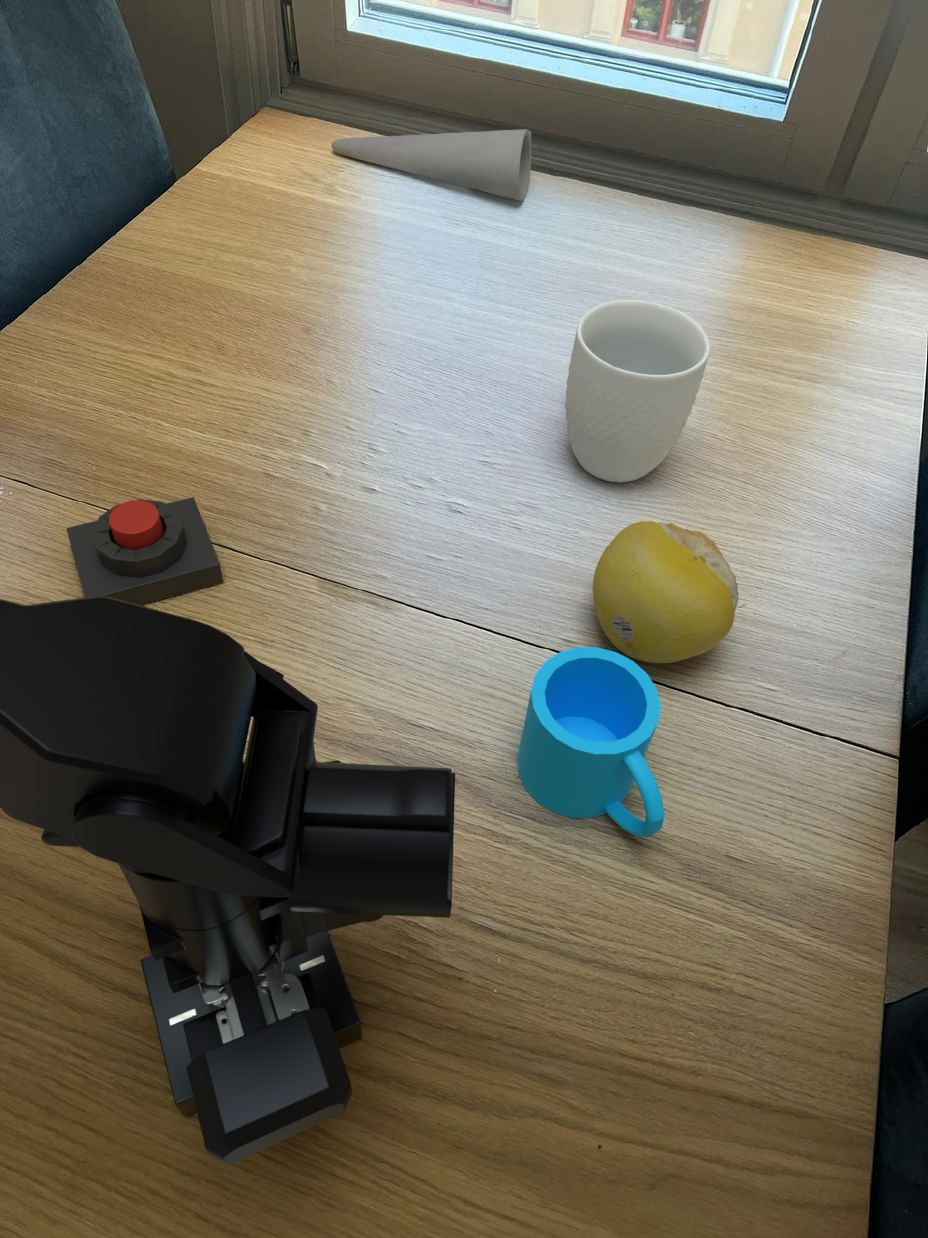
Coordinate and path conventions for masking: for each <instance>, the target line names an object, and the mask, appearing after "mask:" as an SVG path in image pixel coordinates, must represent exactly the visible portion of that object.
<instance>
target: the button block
mask: <svg viewBox="0 0 928 1238" xmlns="http://www.w3.org/2000/svg"><path fill="white" fill-rule="evenodd" d="M139 500H142V501H146V502H149V503H151V504H153V505H154V506H155V507H156V508H157V509H158V512H159V516H160V520H161V524H162V527H163V533H162V536H161V538H160V539H159V540H158V541H157V542H156V543H154V544H153V545H152V546H148V547H145V548H141V549H137V550H132V549H125V548H123V547H121V546H120V545H118V544H117V543H116V541H115V539H114V536H113V533H112V530H111V527H110V524H109V516H110V514H111V512H112V511H113V510H114V509H115V508H116V507H117V506H119V505H120V504H121V503H118V504H115V505H114V506H112V507H111V508H110V509H109V510H107V511H105V512H104V513H103V514H101V515H100V516H99V517H98V519H97V520H94V521H90V522H86V523H81V524H78V525H73V526H69V527H66V528H65V529H66V533H67V536H68V540H69V544H70V549H71V552H72V555H73V560H74V563H75V566H76V571H77V574H78V578H79V582H80V586H81V589H82V593H83V598H85V597H93V596H105V597H110V598H114V599H118V600H122V601H125V602H129V603H133V604H137V605H140V606H144V605H148V604H152V603H155V602H158V601H162V600H166V599H170V598H173V597H177V596H181V595H185V594H187V593H192V592H196V591H199V590H203V589H207V588H210V587H213V586H216V585H220V584H224V577H223V572H222V568H221V563H220V561H219V558H218V555H217V553H216V550H215V548H214V545H213V543H212V541H211V537H210V535H209V532H208V530H207V527H206V525H205V522H204V520H203V517H202V515H201V512H200V510H199V507H198V505H197V502H196V500H195V497H194V496H193V497H188V498H184V499H180V500H176V501H172V502H167V503H165V502H163V501H158V500H151V499H141V498H140V499H139Z"/></svg>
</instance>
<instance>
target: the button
mask: <svg viewBox="0 0 928 1238" xmlns="http://www.w3.org/2000/svg"><path fill="white" fill-rule="evenodd" d="M119 504H120V505H119V506H117V507H116V508H115V509H114V510H113V511H112V512H111V514H110V516H109V524H110V527H111V530H112V533H113V536H114V539H115V541H116V543H117V544H118V545H120V546H121V547H123V548H125V549H132V550H137V549H141V548H145V547H148V546H152V545H153V544H154V543H156V542H157V541H158V540H159V539H160V538H161V536H162V533H163V527H162V524H161V520H160V516H159V512H158V509H157V508H156V507H155V506H154V505H153V504H151V503H149V502H146V501H142V500H140V499H135V500H129V501H125V502H122V503H119Z"/></svg>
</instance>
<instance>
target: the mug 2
mask: <svg viewBox="0 0 928 1238" xmlns="http://www.w3.org/2000/svg"><path fill="white" fill-rule="evenodd" d="M661 708H662V705H661V701H660V697H659V692H658V688H657V686H656V685H655V684H654V682H653V681H652V679H651V677H650V675H649V674H648V673H647V672H646V671H645V670H644V669H642V668H641V667H640V665H638V664H637V663H636V662H635V661H633V659H630V658H628V657H626V656H624V655H622V654H620V653H618V652H616V651H613V650H610V649H604V648H601V647H595V646H594V647H593V646H589V647H588V646H586V647H581V646H580V647H574V648H570V649H567V650H563V651H559V652H557V653H556V654H555V655H553V656H552V657H550V658H549V659H547V660H545V661H544V663H543V664H542V665H541V666H540V668H539V669H538V671H536V673H535V675H534V679H533V681H532V685H531V690H530V693H529V699H528V704H527V709H526V713H525V719H524V723H523V727H522V731H521V736H520V741H519V746H518V750H517V751H518V752H517V757H516V760H517V761H516V763H517V771H518V772H517V773H518V776H519V778H520V781H521V782H522V784H523V786H524V789H525V790H526V792H527V793H528V794H529V795H530V796H531V797H532V799H534V801H536V802H537V804H539V805H540V806H542V807H544V808H545V809H547V810H549V811H551V812H552V813H554V814H557V815H560V816H564V817H568V818H571V819H594V818H596V817H597V818H598V817H599V816H600V817H601V816H602V815H606V814H607V815H608V816H609V817H610V819H611V820H613V821H614V822H615V823H616V824H617V825H618V826H619V827H620V828H621V829H623V830H624V831H626V832H628V833H629V834H631V835H633V836H635V837H641V838H651V837H653V836H654V835H656V834H657V833H658V832H659V831H660V830H661V829H662V828H663V826H664V819H665V807H664V802H663V796H662V794H661V791H660V788H659V786H658V782H657V780H656V778H655V776H654V774H653V772H652V770H651V768H650V767H649V765H648V762H647V761H646V759H645V756H646V753H647V751H648V749H649V746H650V744H651V742H652V739H653V736H654V734H655V732H656V729H657V727H658V724H659V721H660V714H661ZM634 783H635V784H636V786H637V788H638V792H639V794H640V796H641V799H642V802H643V806H644V811H645V820H642V819H640V818H639V817H638V816H635V814H633V813H632V812H631V811H630V810H629V809H627V807H626V806H624V805H623V802H624V801H625V800H626V798H627V796H628V794H629V793H630V791H631V789H632V788H633V785H634Z"/></svg>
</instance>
